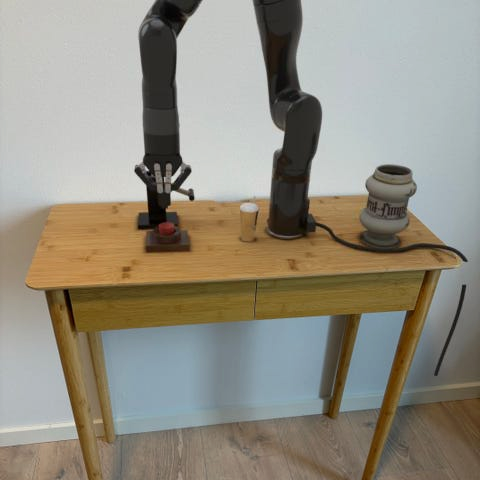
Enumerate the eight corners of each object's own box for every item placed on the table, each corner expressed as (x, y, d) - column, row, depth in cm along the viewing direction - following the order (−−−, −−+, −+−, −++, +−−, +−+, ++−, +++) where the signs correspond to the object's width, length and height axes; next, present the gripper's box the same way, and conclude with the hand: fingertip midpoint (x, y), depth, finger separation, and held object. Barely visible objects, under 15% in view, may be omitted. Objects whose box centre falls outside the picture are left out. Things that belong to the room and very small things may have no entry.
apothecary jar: (348, 230, 128) (360, 161, 118) (392, 228, 130) (407, 160, 120) (365, 252, 119) (380, 178, 108) (412, 249, 120) (431, 177, 110)
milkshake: (261, 235, 124) (263, 197, 118) (252, 244, 120) (254, 205, 114) (244, 232, 125) (246, 194, 119) (235, 240, 121) (237, 201, 115)
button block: (187, 236, 122) (187, 223, 120) (189, 251, 116) (188, 237, 114) (146, 237, 121) (145, 223, 119) (146, 252, 115) (144, 238, 113)
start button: (174, 228, 118) (174, 221, 117) (174, 235, 115) (174, 228, 114) (159, 229, 118) (158, 222, 117) (159, 235, 115) (158, 228, 114)
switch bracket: (176, 215, 132) (175, 168, 125) (177, 228, 126) (175, 179, 118) (139, 216, 131) (134, 168, 123) (137, 229, 124) (133, 179, 117)
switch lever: (191, 196, 128) (195, 187, 127) (192, 203, 124) (196, 195, 123) (148, 180, 124) (151, 171, 123) (148, 187, 120) (151, 178, 119)
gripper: (128, 133, 99) (134, 214, 109) (194, 133, 101) (194, 213, 111) (129, 123, 105) (136, 201, 115) (192, 124, 107) (192, 200, 117)
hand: (164, 207), depth 113 cm, fingers closed
